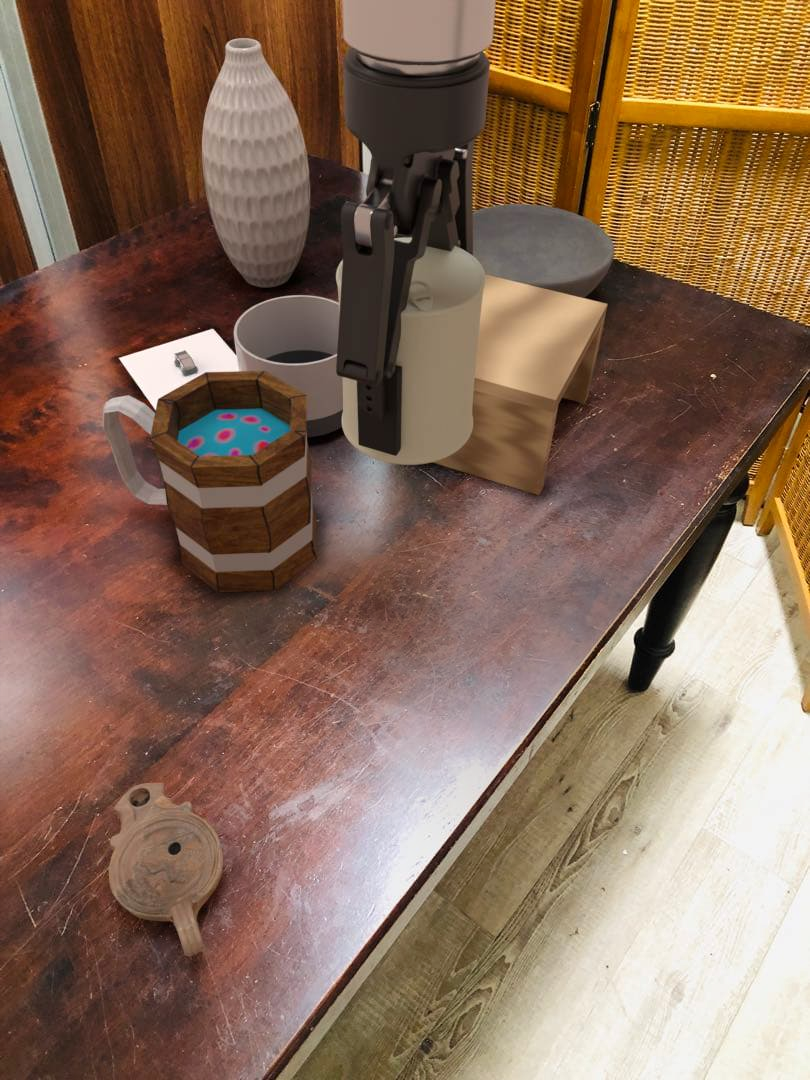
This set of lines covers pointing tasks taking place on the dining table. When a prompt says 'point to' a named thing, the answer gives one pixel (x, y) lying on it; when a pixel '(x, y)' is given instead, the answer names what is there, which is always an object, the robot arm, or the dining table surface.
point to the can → (432, 358)
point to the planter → (296, 352)
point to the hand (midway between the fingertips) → (408, 405)
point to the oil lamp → (164, 861)
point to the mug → (228, 475)
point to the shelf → (526, 378)
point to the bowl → (542, 247)
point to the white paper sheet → (179, 363)
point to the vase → (255, 168)
